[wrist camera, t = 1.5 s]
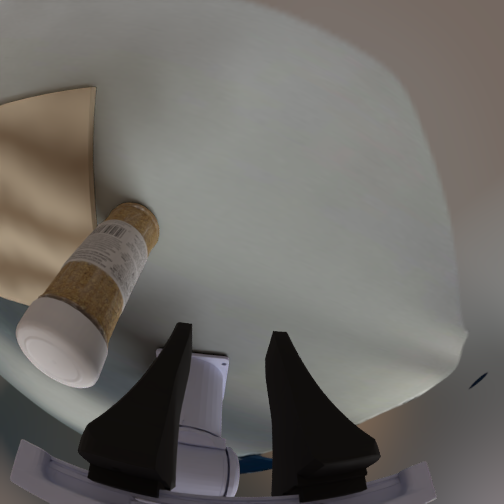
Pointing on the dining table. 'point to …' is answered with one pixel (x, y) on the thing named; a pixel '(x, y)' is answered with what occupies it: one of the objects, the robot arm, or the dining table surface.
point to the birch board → (44, 188)
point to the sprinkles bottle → (88, 298)
